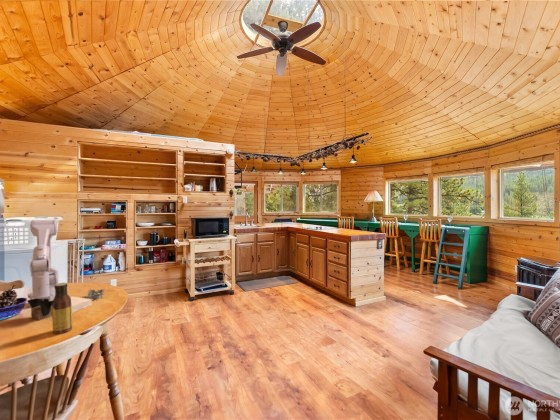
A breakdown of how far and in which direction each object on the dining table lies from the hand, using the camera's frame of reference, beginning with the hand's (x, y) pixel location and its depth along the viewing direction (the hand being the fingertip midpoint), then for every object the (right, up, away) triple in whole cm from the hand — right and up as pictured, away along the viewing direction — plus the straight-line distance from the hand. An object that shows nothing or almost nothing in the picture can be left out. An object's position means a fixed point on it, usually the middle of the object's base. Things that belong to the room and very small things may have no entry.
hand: (41, 314), depth 120 cm
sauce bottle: (+20, -2, -13) cm, 24 cm away
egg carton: (+7, -1, +26) cm, 27 cm away
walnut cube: (0, -1, 0) cm, 1 cm away
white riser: (+4, -1, +11) cm, 12 cm away
